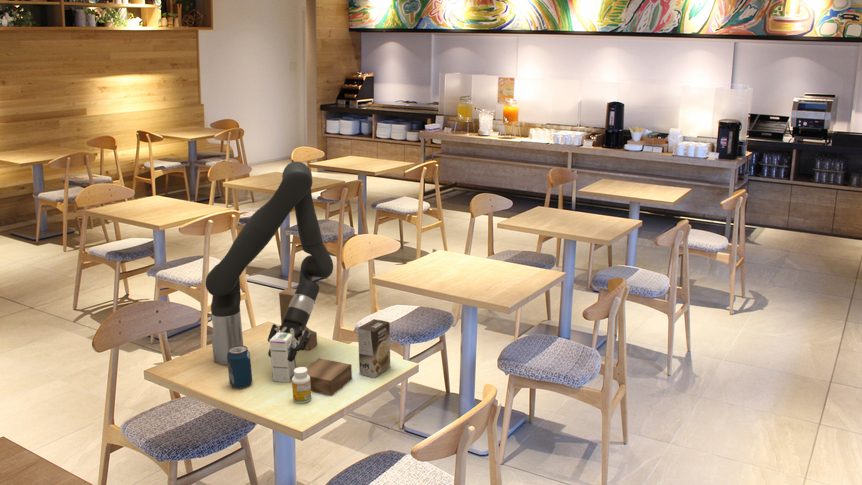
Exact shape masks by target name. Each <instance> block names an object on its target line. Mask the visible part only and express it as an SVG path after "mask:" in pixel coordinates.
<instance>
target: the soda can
mask: <svg viewBox="0 0 862 485" xmlns="http://www.w3.org/2000/svg"><path fill="white" fill-rule="evenodd" d="M228 351H229V352H228V354H227V362H228V365H227V371H228V381H229V384H230V386H231V387H232V388H234V389H245V388H247V387H249V386H250V385H251V383H252V381H253V374H252V371H253V370H252V360H251V359H252V358H251V352H250V351H249V349H248V346H246V345H243V346H242V345H239V346H234V347H231V348H230V349H229V350H228Z"/></svg>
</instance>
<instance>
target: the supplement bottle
mask: <svg viewBox="0 0 862 485" xmlns="http://www.w3.org/2000/svg"><path fill="white" fill-rule="evenodd" d="M291 385H292V398H293V399H292V400H293V401H294V402H295V403H297V404H305V403H308V402H310V401H311V400H312V391H311V382H310V376H309V375H308V371H307V368H306V366H299V367H296V369H294V376H293V378H292V380H291Z"/></svg>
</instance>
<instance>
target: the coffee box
mask: <svg viewBox="0 0 862 485" xmlns="http://www.w3.org/2000/svg"><path fill="white" fill-rule="evenodd" d="M357 327H358V326H357ZM390 328H391V327H390V321H385V320H381V319H375V318H374V319H371V320H369V321H368V322H366V323H364V324H362V325H361V326H359V327H358V328H357V334H358V336H357V337H358V338H357V340H358V365H359V366H358V367H359V371H358V372H359V375H361V376H365V377H368V378H373V379H375V378H377V377H378V376H380V375H381V374H383V373H384V372H386V371H387V370H389V369H390V368H391V335H390V334H391V333H390V332H391V329H390Z"/></svg>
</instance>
